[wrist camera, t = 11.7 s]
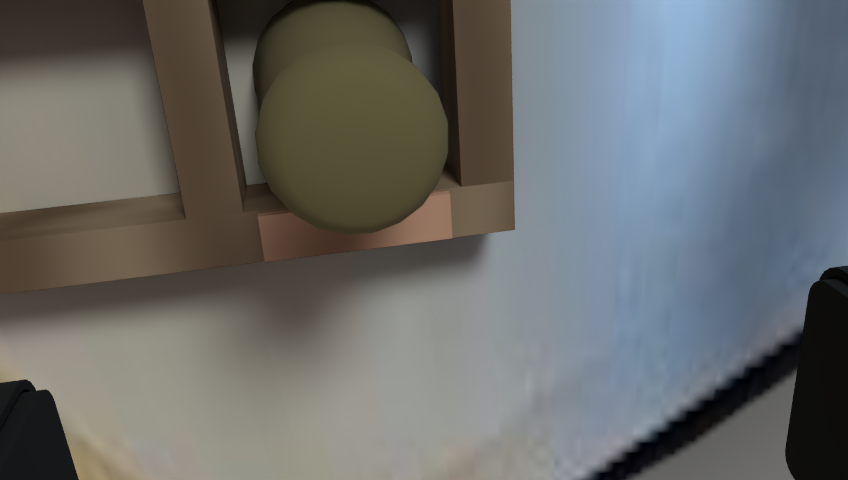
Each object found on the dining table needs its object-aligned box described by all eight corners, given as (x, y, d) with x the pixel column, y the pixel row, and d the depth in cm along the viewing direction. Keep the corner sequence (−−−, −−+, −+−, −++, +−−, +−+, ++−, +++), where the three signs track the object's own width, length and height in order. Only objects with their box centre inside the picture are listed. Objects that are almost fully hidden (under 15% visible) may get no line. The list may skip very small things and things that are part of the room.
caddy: (486, -110, 28) (510, -112, 25) (495, 202, 33) (516, 232, 30) (-178, -64, 25) (-239, -59, 22) (-62, 270, 30) (-100, 310, 27)
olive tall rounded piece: (402, 156, 32) (457, 273, 22) (248, 143, 30) (230, 261, 20) (422, 0, 29) (494, 51, 19) (257, -20, 28) (241, 22, 18)
